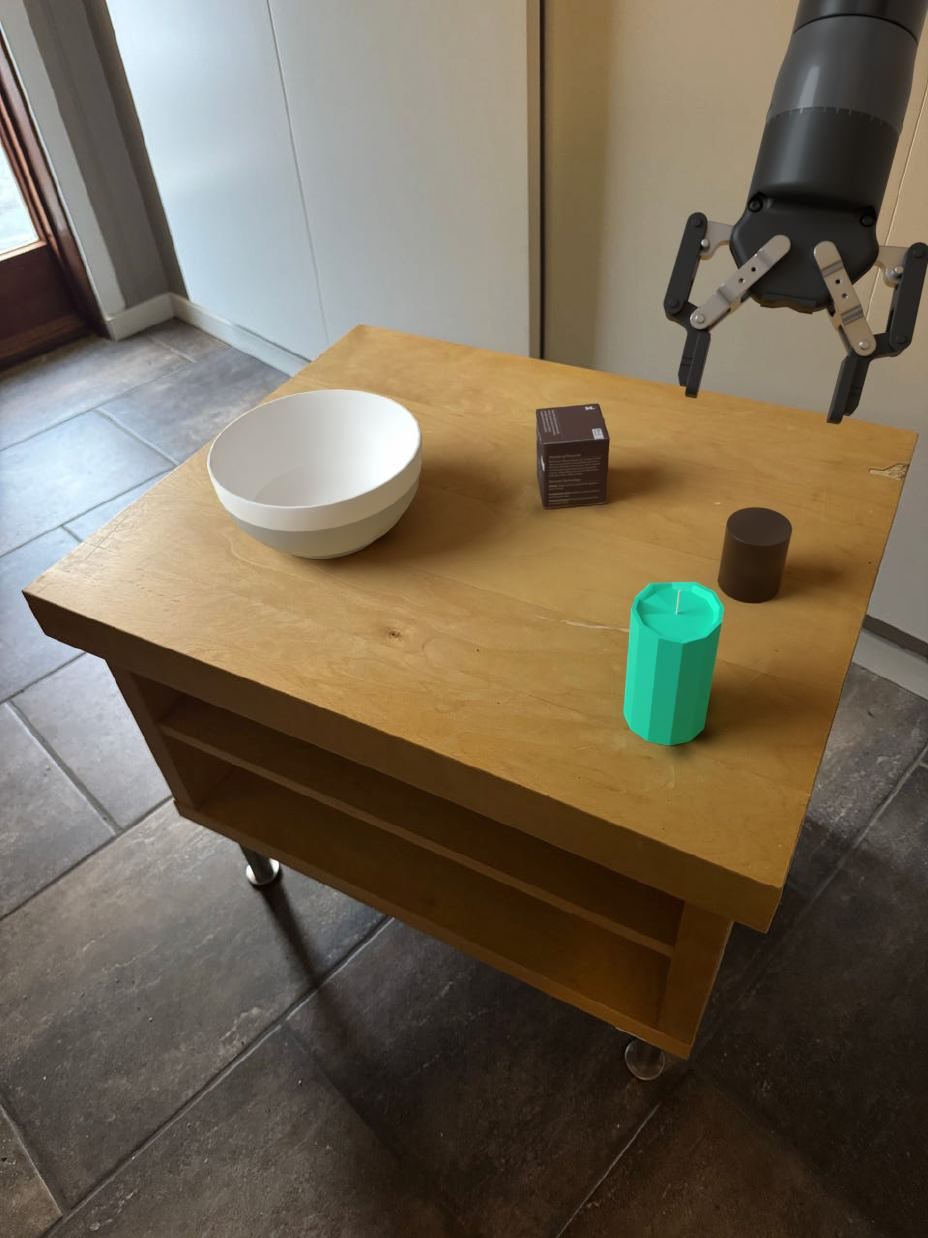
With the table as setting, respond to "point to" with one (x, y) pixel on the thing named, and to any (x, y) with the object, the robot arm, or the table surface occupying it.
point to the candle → (671, 660)
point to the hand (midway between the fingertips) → (761, 409)
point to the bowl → (318, 470)
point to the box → (572, 455)
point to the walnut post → (754, 554)
